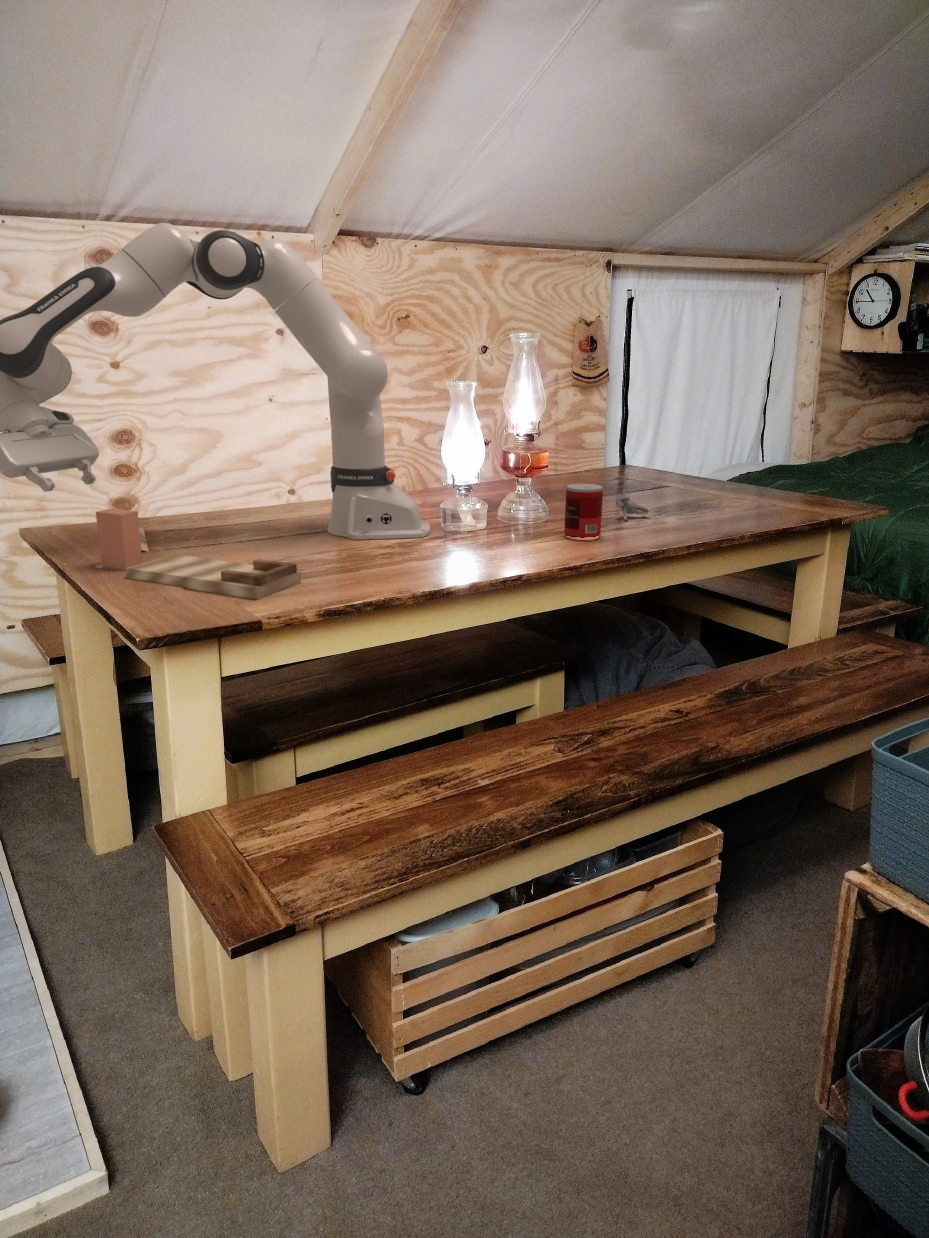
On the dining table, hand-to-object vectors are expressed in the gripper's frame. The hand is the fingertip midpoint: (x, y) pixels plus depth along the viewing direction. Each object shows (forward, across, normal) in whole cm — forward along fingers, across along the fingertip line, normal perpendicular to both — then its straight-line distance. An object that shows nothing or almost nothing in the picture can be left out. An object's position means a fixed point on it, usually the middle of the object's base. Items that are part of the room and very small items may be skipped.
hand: (71, 485), depth 169 cm
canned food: (+64, +66, -44) cm, 102 cm away
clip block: (+17, 0, +2) cm, 17 cm away
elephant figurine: (+67, +92, -46) cm, 123 cm away
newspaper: (+8, +17, +13) cm, 23 cm away
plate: (+18, 0, +2) cm, 18 cm away
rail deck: (+32, 0, -12) cm, 35 cm away
